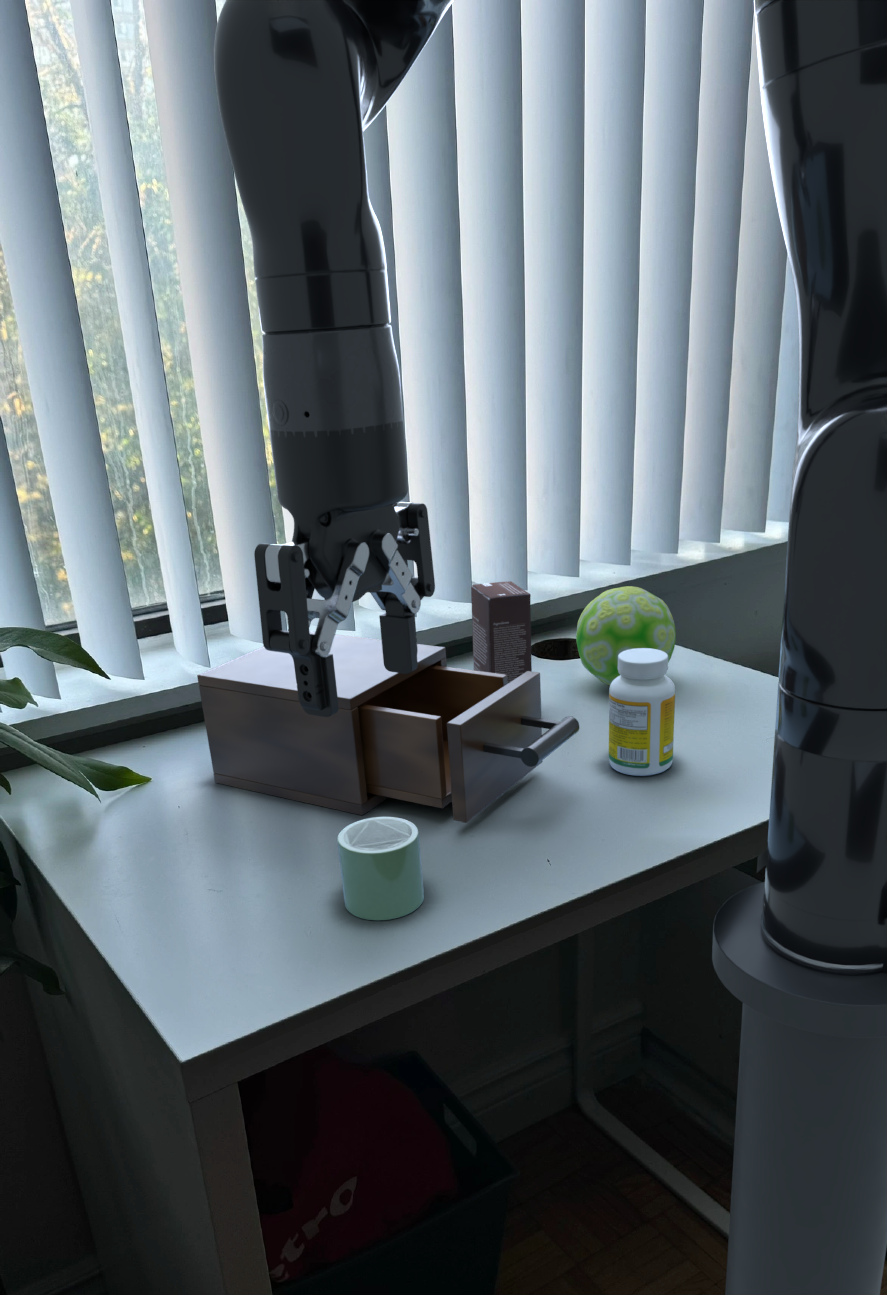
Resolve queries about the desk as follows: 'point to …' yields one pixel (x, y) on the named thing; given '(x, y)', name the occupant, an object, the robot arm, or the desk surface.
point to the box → (501, 629)
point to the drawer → (456, 737)
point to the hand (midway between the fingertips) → (363, 691)
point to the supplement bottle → (641, 713)
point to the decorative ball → (622, 629)
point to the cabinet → (297, 723)
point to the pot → (381, 868)
